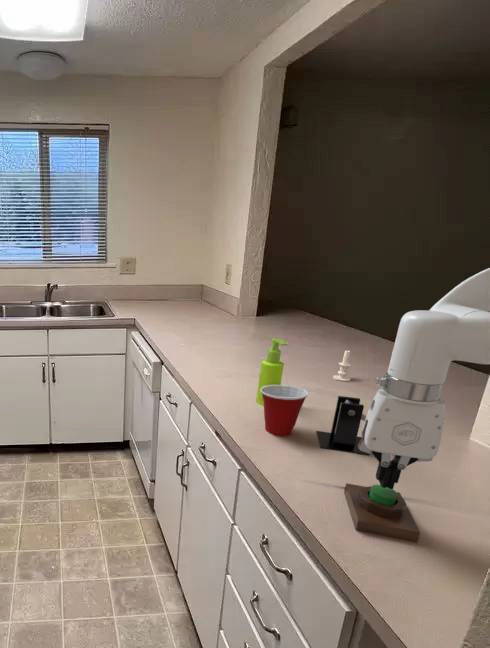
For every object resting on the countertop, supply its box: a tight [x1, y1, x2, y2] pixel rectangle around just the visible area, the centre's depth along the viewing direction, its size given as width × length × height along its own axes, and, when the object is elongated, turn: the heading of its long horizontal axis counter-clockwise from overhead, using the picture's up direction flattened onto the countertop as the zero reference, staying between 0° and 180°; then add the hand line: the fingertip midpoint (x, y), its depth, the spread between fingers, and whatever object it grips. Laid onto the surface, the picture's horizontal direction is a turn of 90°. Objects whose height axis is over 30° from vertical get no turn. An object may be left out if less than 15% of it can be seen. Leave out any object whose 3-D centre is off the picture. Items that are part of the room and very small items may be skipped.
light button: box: [369, 484, 398, 505], centre depth 77 cm, size 4×4×2 cm
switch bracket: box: [315, 395, 371, 457], centre depth 101 cm, size 10×9×12 cm
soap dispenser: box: [255, 337, 289, 407], centre depth 123 cm, size 6×7×20 cm
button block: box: [343, 482, 421, 544], centre depth 78 cm, size 12×9×4 cm
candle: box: [332, 349, 352, 383], centre depth 145 cm, size 5×5×10 cm
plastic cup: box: [260, 384, 309, 437], centre depth 108 cm, size 11×11×12 cm
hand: (385, 484), depth 77 cm, fingers closed
